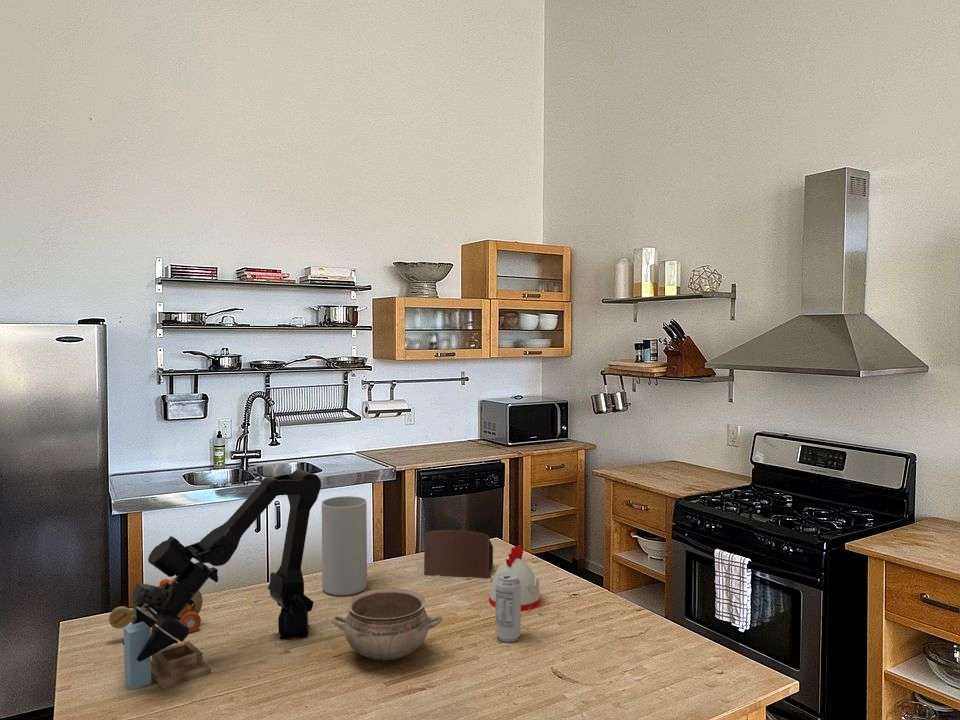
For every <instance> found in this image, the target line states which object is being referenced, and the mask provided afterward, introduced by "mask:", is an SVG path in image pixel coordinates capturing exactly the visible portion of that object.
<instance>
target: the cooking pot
mask: <svg viewBox="0 0 960 720" xmlns="http://www.w3.org/2000/svg"><path fill="white" fill-rule="evenodd" d="M425 606H426V599H425V597H424V596H423V595H422V594H420V593H418V592H416V591H413V590H410V589H409V590H408V589H405V588H404V589H403V588H379V589H372V590H369V591H365V592H362V593H361V592H360V593H358V594H357V595H354V597H352V598H351V599H350V600H349V601H348V604H347V608H348V610H349V611H348V613H347V616H346V617H342V616H339V615H334V616H333V617H332V618H331V623H332V624H333V625H335V627H337V628H338V629H340V630H342V631H343V632H344V634H345V638H346V641H347V643H348V644H349V646H350V647H351V648H352V649H353V651H354V652H357V653H358V654H359V655H361V656H364V657H366V658H368V659H371V660H374V661H376V662H379V663H391V662H395V661H398V660H399V659H401V658H403V657H406V656H408V655H410V654H412V653H414V652H415V651H416V650H418V648H420V646H421V645H422V644H423V642H425V639H426V637H427V635H428V632H429V630H431V629H433V628H435V627H437V626H438V625H440V624H441V622H442V620H443V618H442V616H440V615H438V616H433V617H431V616H428V613H427V611H426V609H425ZM338 621H339V622H338ZM340 622H341V623H340Z"/></svg>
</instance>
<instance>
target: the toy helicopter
mask: <svg viewBox="0 0 960 720" xmlns="http://www.w3.org/2000/svg"><path fill="white" fill-rule="evenodd" d="M175 578H176V576H175V577H173V578H171V579H167V578H163V579H162V580H160V582H159V584H158V585H155V586H156V587H162V586H163V585H164V584H165V583H167V582H168V583H169V584H171V582H172V581H173V580H174V579H175ZM175 582H176V581H175ZM193 595H194V594H193ZM192 600H193V601H194V603H193V604H192V606H191V605H189V604H188V605H187V606H186V607H185V608H184V610H183V611H182V612H181V613H180V615H179V616H178V617H180V618H181V619H180V622H181V623H183V624H184V625H185V626H186V627H188V632H189V633H194V632H195V631H197V630H198V629H199V628H200V626H201V624H202V619H201V616H200V615H199V614H200V612H201V609H202V607H203V595H202V593H201V592H200V590H199V591H198V592H197V593H196V595H195V596H194V597H193V598H192ZM133 619H134V610H133V607H132V608H131V607H130V608H129V607H126V606H118V607H117V606H116V607H115V608H114V609H112V611H111V612H110V614H109V616H108V620H109V625H110V626H111V627H112V628H114V629H117V630H118V629H124V627H126V626H129V625H130V624H132V622H133ZM153 619H154V620H155V621H157V619H156V618H154V617H153ZM158 628H160V627H159V626H158Z"/></svg>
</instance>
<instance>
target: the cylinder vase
mask: <svg viewBox="0 0 960 720" xmlns="http://www.w3.org/2000/svg"><path fill="white" fill-rule="evenodd" d="M367 510H368V509H367V499H366V498H364V497H360V496H351V495H349V496H348V495H347V496H346V495H345V496H335V497H330V498H326V499H324V500H322V501H321V560H322V562H321V565H322V566H321V573H322V575H321V577H322V578H321V580H322V581H321V583H322V586H321V587H322V590H323V591H324V592H325V593H326V594H328V595H332V596H338V597H340V596H341V597H342V596H345V597H346V596H353V595H356V594H360V593H361V592H363V591H364V590H366V589H367V586H368V539H367V538H368V537H367V536H368V534H367V533H368V530H367V529H368V527H367V526H368V525H367V524H368V523H367V522H368V519H367V518H368V515H367Z"/></svg>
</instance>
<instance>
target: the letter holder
mask: <svg viewBox="0 0 960 720" xmlns="http://www.w3.org/2000/svg"><path fill="white" fill-rule="evenodd" d="M490 539H491V538H490V536H489V535H488V534H487V533H483V532H478V531H472V530H471V531H470V530H461V529H438V530H430V531H428V530H427V532H425V533H424V542H423V543H424V546H423V547H424V548H423V549H424V552H423V555H424V558H423V562H424V564H423V565H424V567H423V572H424V573H423V574H424V576H434V575H440V576H439V577H454V578H455V577H456V578H470V577H473V578H474V579H475V578H476V579H490V578H491V573H492V571H493V569H494V546H493V544H492V541H491V540H490Z"/></svg>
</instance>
